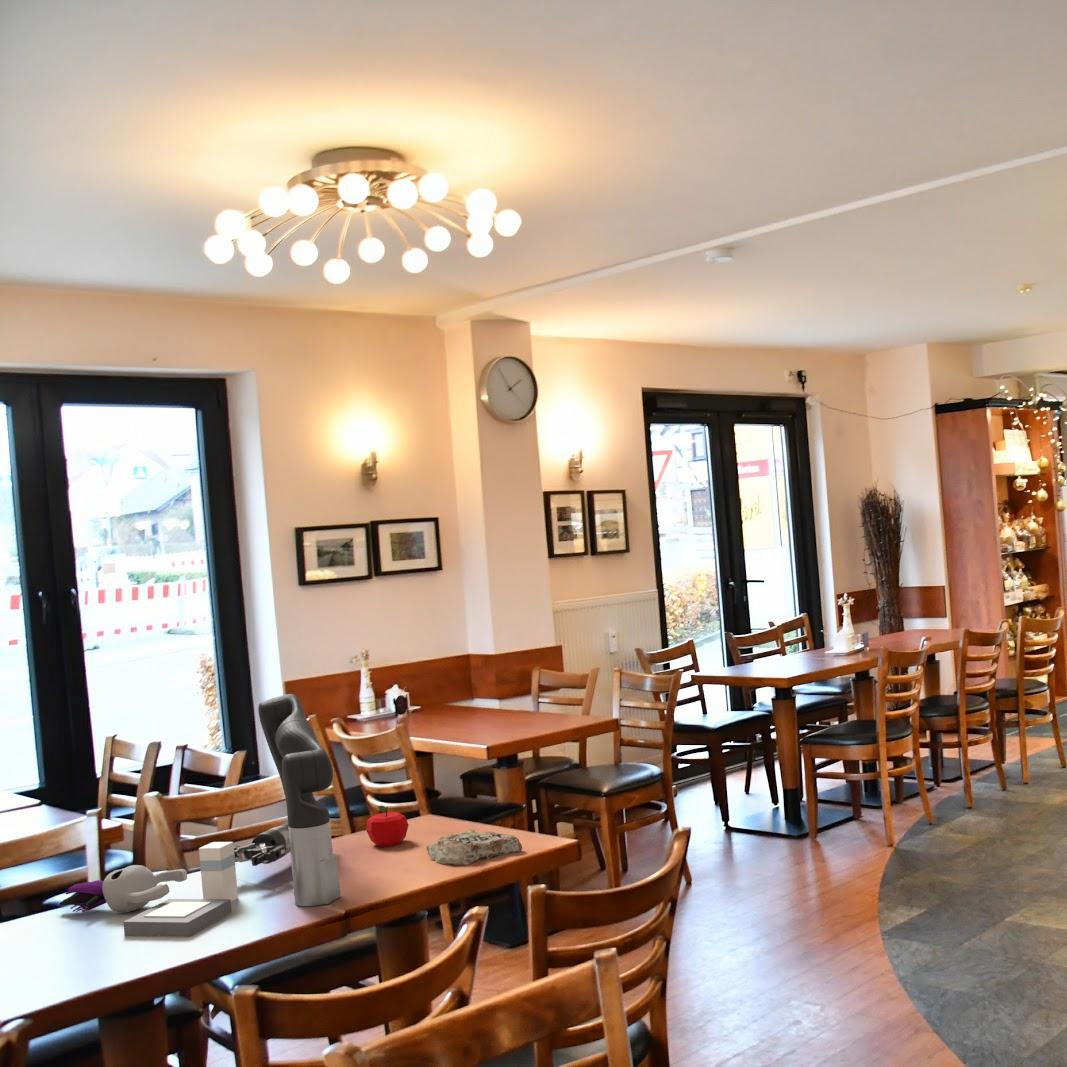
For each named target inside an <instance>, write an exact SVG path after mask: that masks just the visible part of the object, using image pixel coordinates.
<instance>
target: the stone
mask: <svg viewBox="0 0 1067 1067" xmlns="http://www.w3.org/2000/svg"><path fill="white" fill-rule="evenodd" d="M522 850H523V846H522V843H521V842H520V840H519V838H518V837H517V836H515V835H512V834H504V833H497V832H494V831H486V830H485V831H483V832H480V833H478V831H475V830H474V829H468V830H463V831H459V832H458V833H448V834H446V835H444V836H441V837H440V838H439V840H437V841H436V842H434V843H432V844H429V845H427V846H426V852H427V854H428V856H429V858H430V861H432V862H435V863H436V864H441V865H442V864H443V865H454V866H467V865H468V866H469V865H471V864H473V863H475V862H479V861H484V860H489V859H493V858H496V857H498V856H500V855H501V856H502V855H506V854H513V853H520V852H521V851H522Z"/></svg>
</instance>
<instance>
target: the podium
mask: <svg viewBox="0 0 1067 1067" xmlns="http://www.w3.org/2000/svg"><path fill="white" fill-rule="evenodd" d="M230 914H232V902H231V899H203V898H169V899H166V900H164V901H162V902H161V903H158V904H156V905H155V906H152V907H149V908H148V909H146V910H143V911H142V912H140V913H138V914H136V915H134V916H132V917H129V918H128V919H126V920H124V921H123V922H122V923H123V932H124V933H123V935H124V936H125V937H163V938H164V937H165V938H166V937H167V938H169V937H171V938H178V937H179V938H181V937H184V938H190V937H191V936H193V935H195V934H197V933H198V932H200V931H202V930H204V929H205V928H208V927H209V926H211V925H213V924H214V923H216V922H218V921H220V920H222V919H223V918H225V917H227V916H229V915H230Z"/></svg>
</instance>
